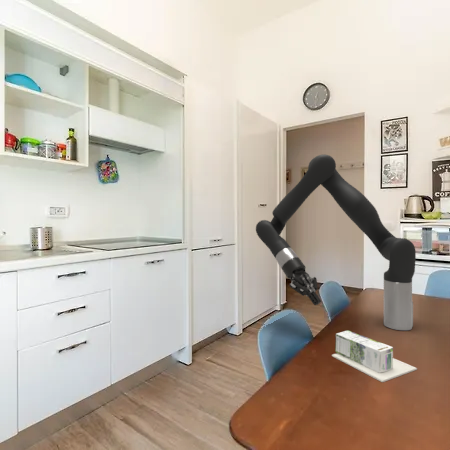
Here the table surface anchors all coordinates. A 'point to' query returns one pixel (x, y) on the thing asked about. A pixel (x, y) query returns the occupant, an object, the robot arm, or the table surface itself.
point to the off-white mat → (396, 371)
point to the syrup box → (364, 351)
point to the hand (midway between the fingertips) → (318, 303)
